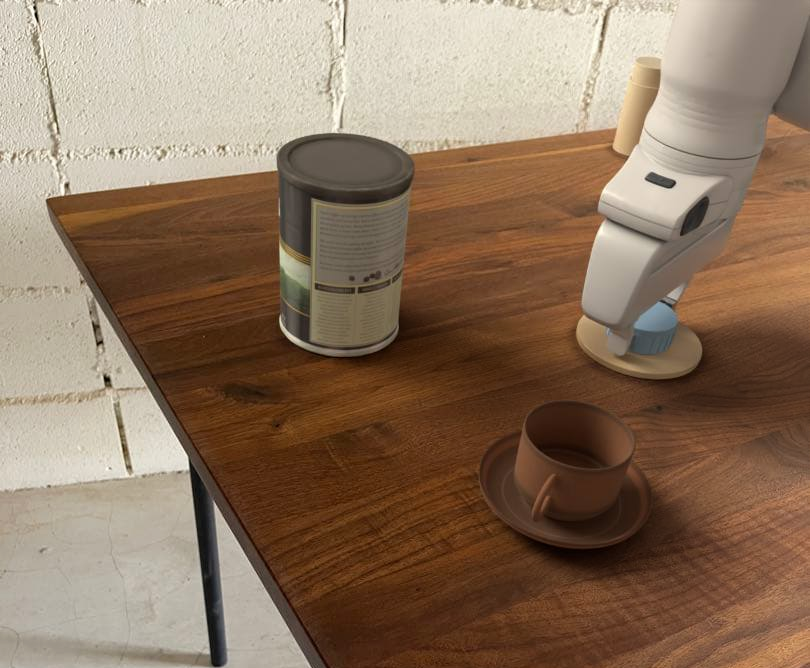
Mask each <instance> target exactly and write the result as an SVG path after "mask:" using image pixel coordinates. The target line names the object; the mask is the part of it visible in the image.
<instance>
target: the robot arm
mask: <svg viewBox="0 0 810 668" xmlns="http://www.w3.org/2000/svg"><path fill="white" fill-rule="evenodd" d="M670 23H671V24H670V27H669V30H668V33H667V37H666V41H665V45H664V48H663V52H662V55H661V58H660V59H661V80H660V87H659V91H658V95H657V97H656V100H655V102H654V104H653V105H652V107H651V109H650V110H649V112H648V114H647V116H646V119H645V122H644V126H643V130H642V133H641V137H640V141H639V144H637V145H636V146H635V147H634V149H633V151H632V153H631V155H630V156H628V159H626V162H625V163H624V164H623V165H622V167H621V168H620V169H619V170H618V172H617V173H616V174H614V176H613V177H612V178H611V179H610V180H609V181H608V183H607V184H606V185H605V186H604V188H603V189H602V191H601V194H600V197H599V201H598V205H597V213H598V214H599V215H601V216H603V217H605V218H604V220H603V221H602V223H601V225H600V226H599V228H598V230H597V233H596V235H595V238H594V241H593V244H592V248H591V252H590V257H589V260H588V261H589V262H588V265H587V270H586V274H585V280H584V284H583V290H582V295H581V308H582V312H583V316H584V315H585V316H586V317H587V318H588V319H590V320H592V321H594V322H596V323H598V324H600V325H603V326H605V327H607V328H610V334H609V338H608V341H607V348H608V350H609V351H611V352H613V353H615V354H617V355H620V356H622V355H624V354H625V353H626V352H628V351H629V350H630V349H631V348H632V347H633V345H634V341H635V339H636V335H637V332H635V331H634V325H635V322H637V321H638V319H639V317H640V316H641V315H642V314H644V313H645V312H646V311H648V310H649V309H650V308H651V307H653V306H654V305H655V304H657V303H658V302H661V303H663V304H665V305H667V306H668V307H670V308H671V309H672V310H673V311H674V312H675V313H677V312H676V311H677V309H678V306H679V303H680V301H681V299H682V297H683V295H685V292H686V290H687V288H688V287H689V286H690V284H691V282H692V281H693V279H694V276H695V274H697V273H698V272H699V271H701V270H702V269H704V267H706V266H707V265H708V264H710V263H711V262H712V261H713V260H715V259H716V258H717V257H719V256H720V255H721V254H722V252H723V251H724V249H725V247H726V245H727V244H728V242H729V240H730V237H731V234H732V231H733V229H734V225H735V221H736V219H737V216H738V214H739V213H740V211H741V209H742V208H743V204H744V202H745V199H746V197H747V193H748V191H749V188H750V185H751V183H752V180H753V178H754V175H755V172H756V169H757V166H758V164H759V161H760V159H761V156H762V152H763V150H764V148H765V144H766V139H767V128H768V127H767V126H768V122H769V118H770V116H771V115H773V116H775V117H776V118H777V119H778V120H781V121H783V122H785V123H787V124H788V125H789V124H790V125H792V126H793V127H797V128H799V129H801V130H804V131H805V132H809V133H810V0H678V1H677V4H676V7H675V10H674V13H673V17H672V20H671V22H670Z"/></svg>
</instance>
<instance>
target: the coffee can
mask: <svg viewBox="0 0 810 668" xmlns="http://www.w3.org/2000/svg"><path fill="white" fill-rule="evenodd" d="M275 159H276V169H277V178H278V183H277V184H278V230H279V231H278V233H279V234H278V235H279V236H278V238H279V246H278V247H279V305H280V306H279V314H280V315H279V319H278V320H279V327H280V330H281V332H282V333H283V334H284V336H285V337H286V338H287V339H288V340H289V341H290V342H291V343H293V344H294V345H296V346H297V347H299V348H301V349H303V350H305V351H308V352H310V353H313V354H318V355H321V356H326V357H334V358H337V357H339V358H352V357H361V356H365V355H369V354H373V353H375V352H379V351H381V350H382V349H384V348H386V347H387V346H388V345H390V344H391V343H392V342H393V341H394V340H395V338H396V337H397V335H398V332H399V327H400V326H399V317H400V316H399V315H400V303H401V296H402V295H401V294H402V284H403V273H404V266H405V254H406V243H407V235H408V233H407V232H408V222H409V221H408V220H409V213H410V203H411V202H410V201H411V191H412V182H413V179H414V177H415V169H416V166H415V162H414V160H413V158H412V157H411V156H410V154H408V153H407V152H406V151H405V150H403V149H402V148H400V147H399V146H397V145H396V144H393V143H390V142H388V141H385V140H383V139H380V138H376V137H373V136H369V135H363V134H356V133H347V132H325V133H324V132H323V133H315V134H309V135H304V136H301V137H297V138H295V139H292V140H289V141H288V142H286V143H285V144H283V145H282V146H281V147H280V148H279V149H278V151H277V153H276V158H275Z"/></svg>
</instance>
